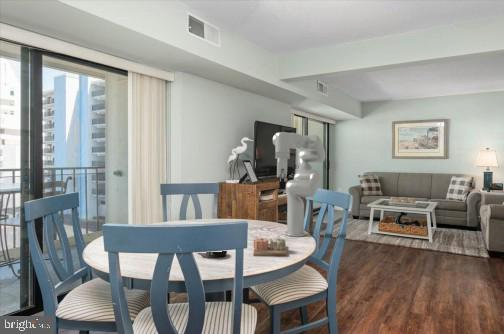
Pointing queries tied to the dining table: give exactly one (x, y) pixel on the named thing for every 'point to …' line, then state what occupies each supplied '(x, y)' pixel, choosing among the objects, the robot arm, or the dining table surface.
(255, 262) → the dining table surface
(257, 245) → the terracotta gear
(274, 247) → the gear board
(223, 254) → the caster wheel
